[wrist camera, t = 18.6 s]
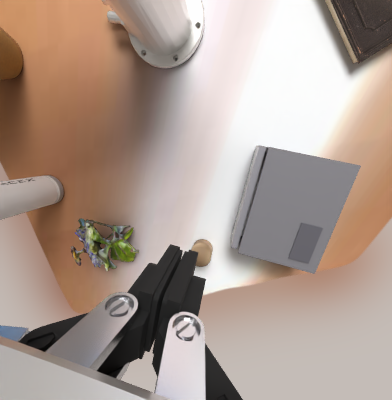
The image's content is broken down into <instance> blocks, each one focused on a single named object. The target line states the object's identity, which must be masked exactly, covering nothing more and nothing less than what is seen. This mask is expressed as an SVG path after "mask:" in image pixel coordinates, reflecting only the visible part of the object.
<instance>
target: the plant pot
mask: <svg viewBox="0 0 392 400" xmlns="http://www.w3.org/2000/svg"><path fill="white" fill-rule="evenodd" d="M22 66H23V57H22V53H21V50H20V48H19V46H18V44H17V43H16V41H15V40H14V39H13V38H12V37H11V36H9V35H8V34H7V33H6V32H5V31H4V30H3V29H2V28H1V27H0V80H3V79H13V78H15V77H17V76H18V75H19V74H20V72H21V70H22Z"/></svg>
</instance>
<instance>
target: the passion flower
mask: <svg viewBox="0 0 392 400" xmlns="http://www.w3.org/2000/svg"><path fill="white" fill-rule="evenodd" d="M78 221H79V223H80V227H79V229H77V230H76V231H77V232H75V234H77V235H78V237H79V240H80V241H81V242H83V243H84V248H83V249H82V250H81V251H77V250H76V249H75V247H73V246H72V247H71V252H72V254H73V256H72V257H73V258H74V259H75V261H76V263H77V264H78V265H79V266H80V265H81V259H80V258H79V255H80V254H81V253H82V252H85V253H88V254H89V256H90V258H91V261H92V263H93V264H94V266H96V267H97V266H98V267H100V266H101V265H102V264H103V265H104V266H105V268H106V271H109V268H112V269H115V268H117V266H115V265H114V264H113V263H112V261H110V259H109V257H108V250H109V249H110V248H111V258H112V259H113V260H120V261H125V262H131V261H134V258H135V254H136V253H139V250H135V248H134V247H132V245H131V244H130V243H128V241H126V239H128V238H129V237H130V235H131V234H132V232H133V228H131V229H130V230H129V231H128V232H127V233H125V234H120V232H122V231H123V229H124V228H126V227H130V226H116V225H113V226H111V225H106V224H103V223H99V222H97V221H93V220H86V221H85V220H84V219H79V220H78ZM94 223H97V224H100V225H104V226H107V227H110V228H111V229H112V230H113V233H112V234H111V235H113V239H112V240H111V241H109V240H107V238H109V237H110V236H111V235H110V236H109V237H107V238H106V239H105V238H103V237H102V236H101V235H100V234H99V233H98V231H97V230H96V228H94V225H93V224H94ZM115 232H117V233H118V235H119V238H116V237H115ZM101 243H102V244H105V245H106V246H105V248H104V249H102V248H101V247H100V244H101Z"/></svg>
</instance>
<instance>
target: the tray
mask: <svg viewBox="0 0 392 400" xmlns="http://www.w3.org/2000/svg"><path fill="white" fill-rule="evenodd" d="M265 150H266V147H264V146H256V149H255V152H254V156H253V159H252V163H251V167H250V170H249V174H248V178H247V181H246V185H245V188H244V192H243V196H242V199H241V203H240V207H239V210H238V214H237V217H236V221H235V225H234V228H233V232H232V236H231V247H233V248H236V249H237V247H238V243H239V240H240V236H243V232H244V229H245V225H246V222H247V219H248V215H249V212H250V208H251V205H252V202H253V198H254V195H255V191H256V188H257V184H258V181H259V178H260V174H261V171H262V167H263V164H264V161H265V157H266V156H264V154H265Z"/></svg>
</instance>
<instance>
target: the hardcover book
mask: <svg viewBox="0 0 392 400" xmlns="http://www.w3.org/2000/svg"><path fill="white" fill-rule="evenodd" d="M325 2H326V4H327V6H328V8H329V10H330V13H331V15H332V17H333V19H334V22H335V24H336V26H337V28H338V30H339V33H340V35H341V37H342V39H343V42H344V44H345V46H346V48H347V51H348V53H349V55H350V57H351V59H352V62H353V64H354V63H356V62H358V63H360V62H362V61H363V60H365V59H367V58H368V57H370V56H371V55H373V54H375V53H376V52H378V51H380V50H381V49H383V48H384V47H386V46H388V45H389V44H391V43H392V0H325Z"/></svg>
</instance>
